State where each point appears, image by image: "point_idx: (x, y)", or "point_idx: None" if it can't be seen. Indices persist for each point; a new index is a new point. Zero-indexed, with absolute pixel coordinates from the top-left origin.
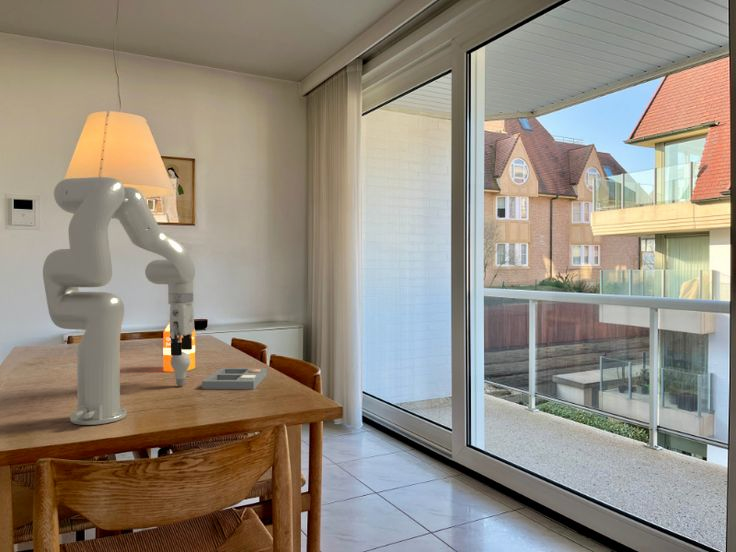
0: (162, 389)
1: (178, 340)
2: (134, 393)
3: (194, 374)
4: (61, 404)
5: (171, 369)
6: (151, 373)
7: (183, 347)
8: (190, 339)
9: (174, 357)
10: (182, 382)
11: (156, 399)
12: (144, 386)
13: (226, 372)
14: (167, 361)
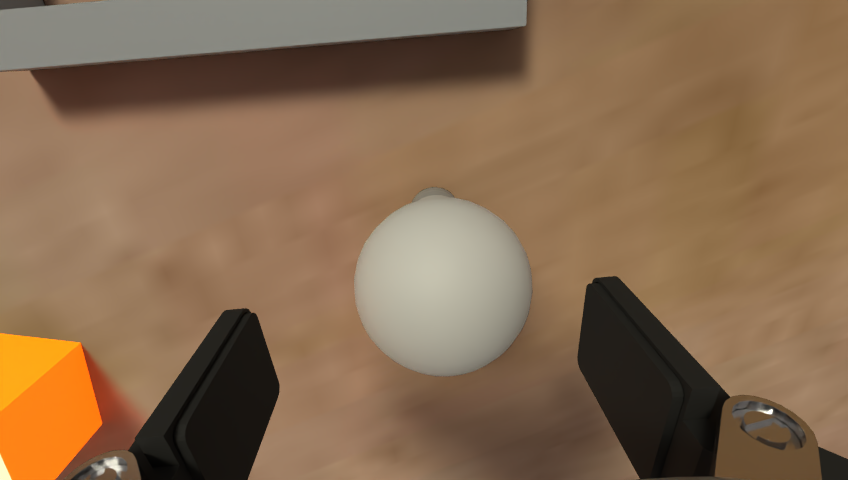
0: None
1: (807, 441)
2: None
3: (101, 256)
4: None
5: (84, 399)
6: None
7: (268, 393)
8: (194, 415)
9: (515, 336)
10: (451, 196)
11: (741, 201)
12: None
13: (15, 1)
14: (53, 455)
